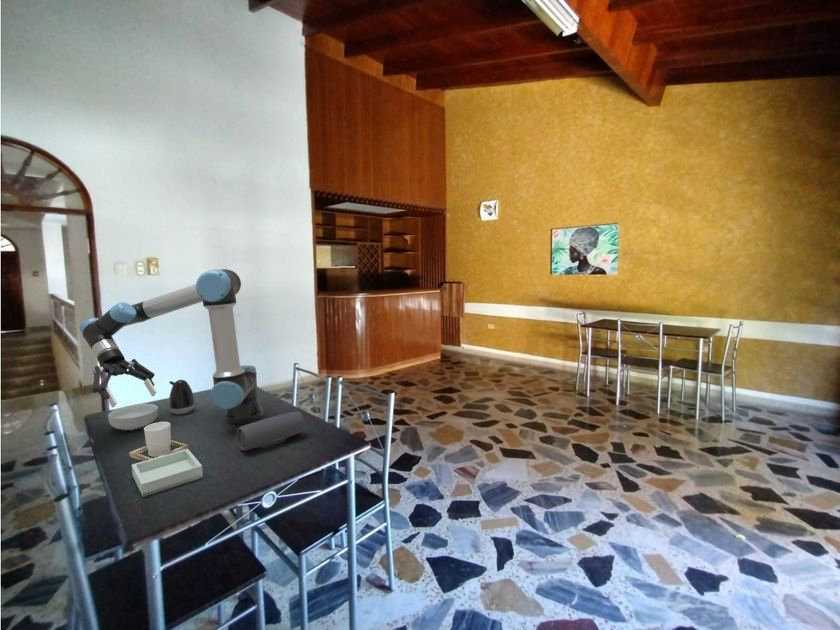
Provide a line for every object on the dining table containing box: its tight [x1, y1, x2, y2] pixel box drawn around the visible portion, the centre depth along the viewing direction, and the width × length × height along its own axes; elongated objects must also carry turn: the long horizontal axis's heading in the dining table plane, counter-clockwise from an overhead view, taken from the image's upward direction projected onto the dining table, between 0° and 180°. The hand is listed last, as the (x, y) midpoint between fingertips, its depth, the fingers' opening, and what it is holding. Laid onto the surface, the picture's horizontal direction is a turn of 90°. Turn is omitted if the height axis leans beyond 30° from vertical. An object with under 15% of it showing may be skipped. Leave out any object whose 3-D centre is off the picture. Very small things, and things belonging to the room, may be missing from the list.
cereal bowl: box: [107, 403, 159, 431], centre depth 169 cm, size 17×17×7 cm
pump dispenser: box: [168, 379, 196, 415], centre depth 184 cm, size 10×10×15 cm
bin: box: [131, 449, 204, 498], centre depth 129 cm, size 16×16×4 cm
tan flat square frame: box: [128, 439, 189, 462], centre depth 146 cm, size 13×13×2 cm
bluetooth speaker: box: [236, 411, 306, 452], centre depth 153 cm, size 23×9×10 cm, turn 135°
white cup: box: [143, 421, 172, 458], centre depth 146 cm, size 8×8×10 cm
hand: (135, 399), depth 148 cm, fingers open, 13 cm apart
